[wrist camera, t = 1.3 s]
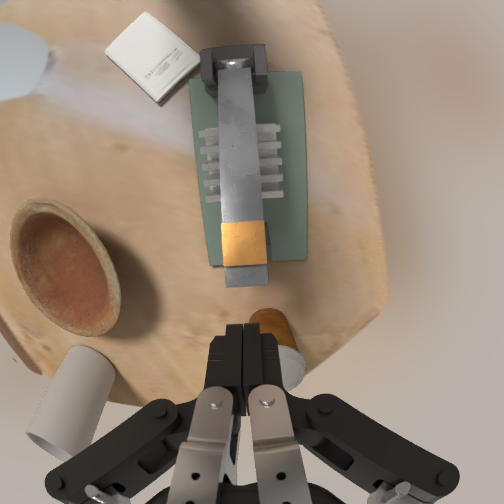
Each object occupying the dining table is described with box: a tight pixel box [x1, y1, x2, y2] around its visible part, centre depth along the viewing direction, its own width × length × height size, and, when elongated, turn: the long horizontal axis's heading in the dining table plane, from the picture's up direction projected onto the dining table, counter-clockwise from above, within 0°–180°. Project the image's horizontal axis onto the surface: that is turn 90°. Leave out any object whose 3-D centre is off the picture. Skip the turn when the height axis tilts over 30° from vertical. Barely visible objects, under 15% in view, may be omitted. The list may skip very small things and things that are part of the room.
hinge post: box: [200, 44, 268, 98], centre depth 24 cm, size 5×6×11 cm
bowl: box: [10, 198, 122, 337], centre depth 36 cm, size 24×24×8 cm
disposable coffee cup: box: [249, 308, 306, 391], centre depth 40 cm, size 10×10×12 cm
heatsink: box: [198, 123, 284, 203], centre depth 30 cm, size 8×8×8 cm
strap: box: [214, 58, 268, 288], centre depth 21 cm, size 21×4×2 cm
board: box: [189, 72, 307, 266], centre depth 34 cm, size 26×14×1 cm, turn 4°
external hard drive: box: [104, 12, 200, 103], centre depth 27 cm, size 2×8×12 cm
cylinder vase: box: [26, 345, 116, 462], centre depth 40 cm, size 12×12×25 cm
